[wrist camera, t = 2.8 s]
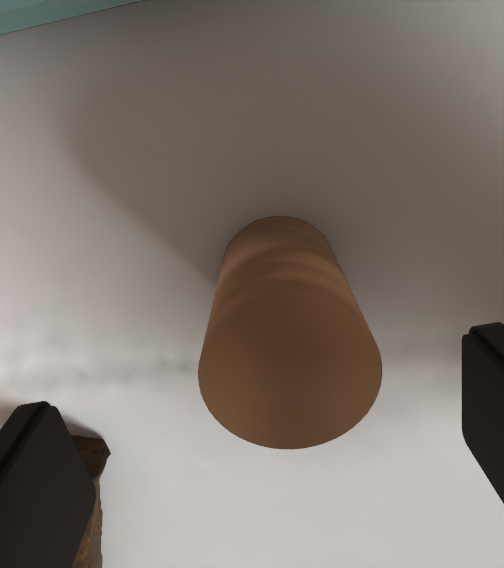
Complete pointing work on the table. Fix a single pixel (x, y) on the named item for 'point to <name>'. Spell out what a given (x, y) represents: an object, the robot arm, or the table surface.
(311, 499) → the table surface
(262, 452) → the table surface
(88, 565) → the hand tool
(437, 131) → the table surface
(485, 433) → the robot arm
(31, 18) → the square hole plate
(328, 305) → the cylinder
